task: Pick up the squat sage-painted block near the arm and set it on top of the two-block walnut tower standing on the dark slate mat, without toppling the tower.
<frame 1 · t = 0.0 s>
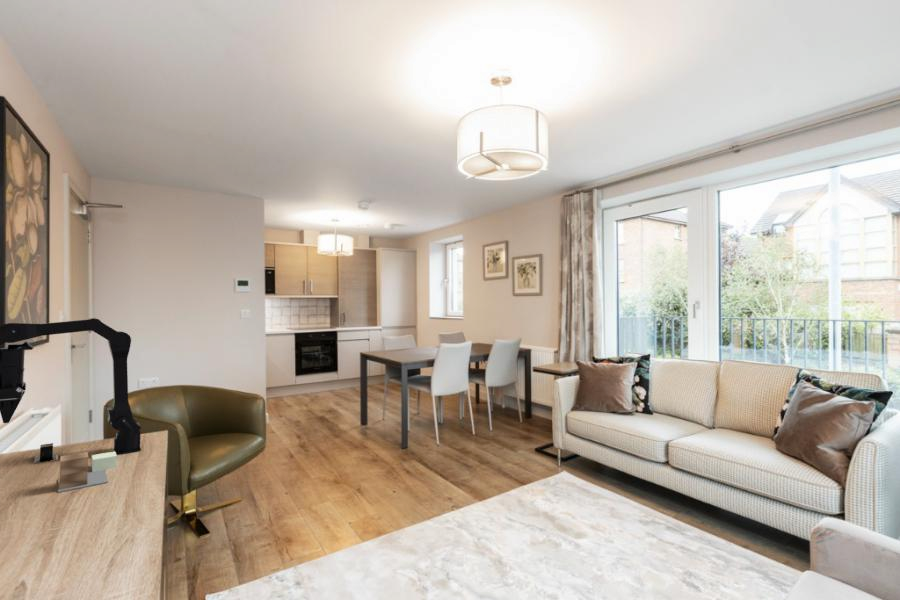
hand: (7, 419, 123), 15 cm above the table, fingers open, 9 cm apart
slate mat: (82, 480, 116), on the table
walnut block upper: (73, 470, 113), point 4 cm above the table, touching walnut block lower
sage block: (103, 467, 127), on the table
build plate: (46, 460, 135), on the table
walnut block lower: (73, 483, 113), resting on slate mat, touching walnut block upper
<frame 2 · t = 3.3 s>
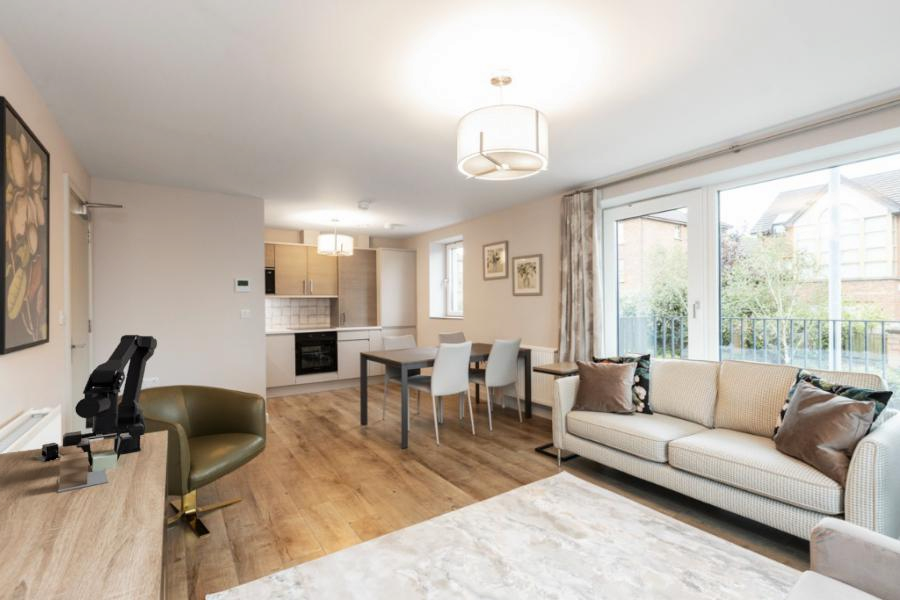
hand: (103, 463, 127), 1 cm above the table, fingers closed on sage block, 6 cm apart
sage block: (103, 467, 127), on the table, touching gripper
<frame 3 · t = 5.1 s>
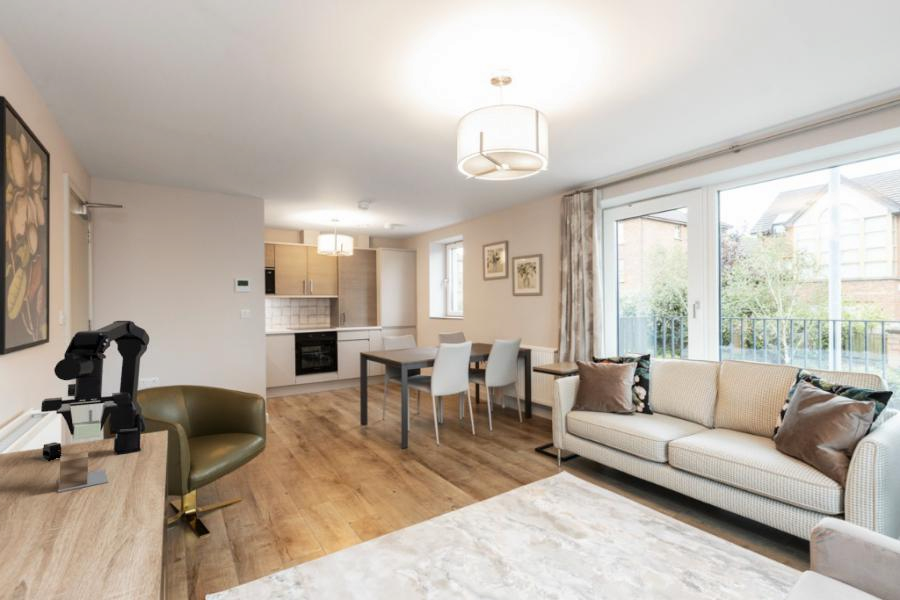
hand: (86, 432, 118), 12 cm above the table, fingers closed on sage block, 6 cm apart
sage block: (86, 436, 118), point 11 cm above the table, touching gripper
when the fingers open (9 cm above the table, at t = 6.7 s): sage block stays where it is, resting on walnut block upper.
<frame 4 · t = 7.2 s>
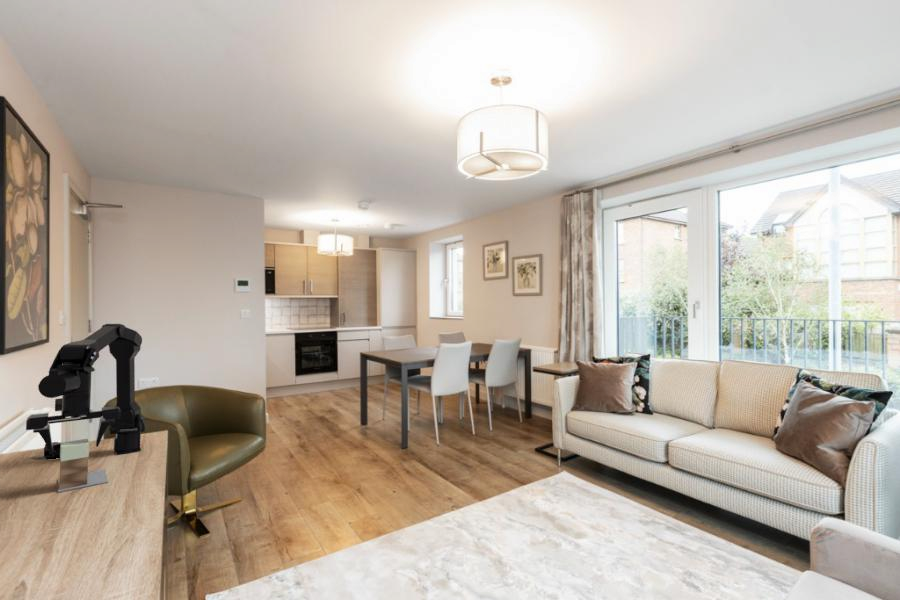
hand: (74, 449, 114), 9 cm above the table, fingers open, 9 cm apart
walnut block upper: (73, 470, 113), point 4 cm above the table, touching sage block, walnut block lower
sage block: (74, 456, 114), point 7 cm above the table, touching walnut block upper
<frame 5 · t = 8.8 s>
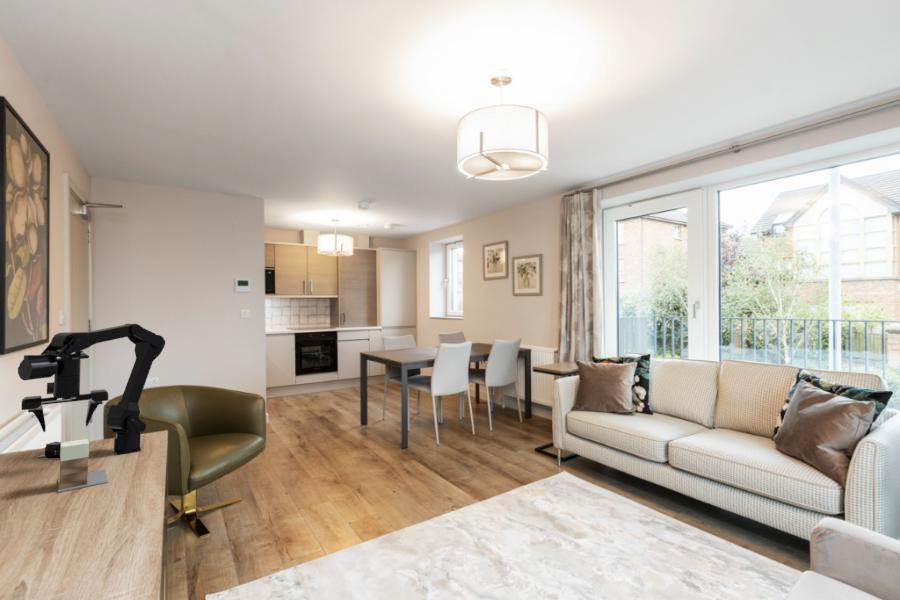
hand: (66, 428, 125), 12 cm above the table, fingers open, 9 cm apart
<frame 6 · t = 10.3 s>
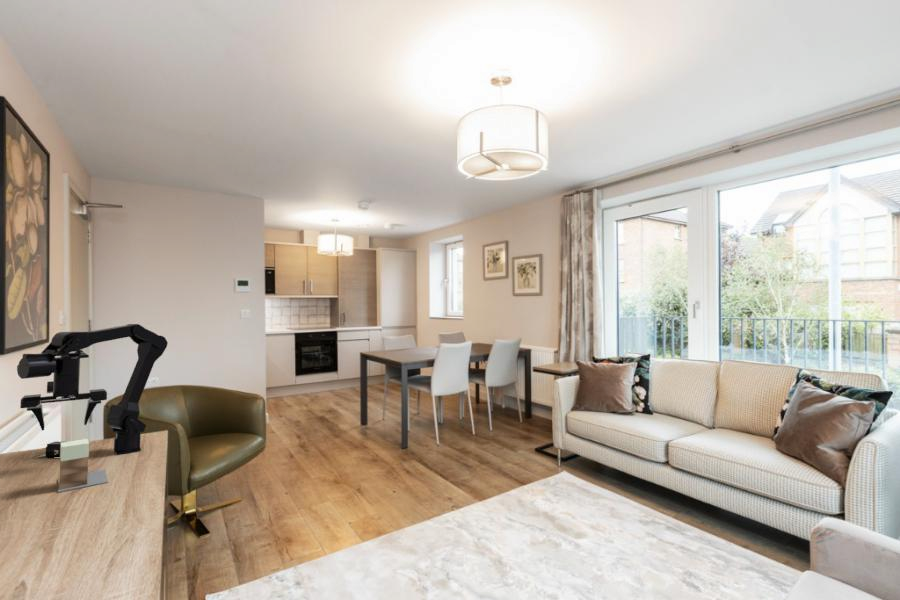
hand: (64, 427, 126), 12 cm above the table, fingers open, 9 cm apart
at the end: sage block 0.0 cm off-centre on the walnut block lower, point 7.2 cm above the walnut block lower's base; walnut block upper tilted 0°; the gripper is holding nothing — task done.
